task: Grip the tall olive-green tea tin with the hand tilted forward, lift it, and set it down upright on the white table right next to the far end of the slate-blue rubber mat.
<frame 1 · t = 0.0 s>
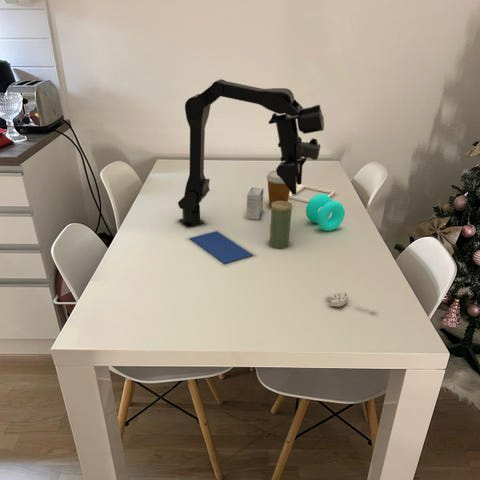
hand: (297, 189, 149), 15 cm above the table, tool pointing down, fingers open, 9 cm apart
game controller: (349, 307, 124), on the table
tea tin: (278, 244, 153), on the table
donuts: (323, 226, 165), on the table
medicine box: (254, 215, 172), on the table
photo frame: (305, 195, 190), on the table
disposable coffee cup: (277, 207, 179), on the table
blue mat: (220, 247, 150), on the table
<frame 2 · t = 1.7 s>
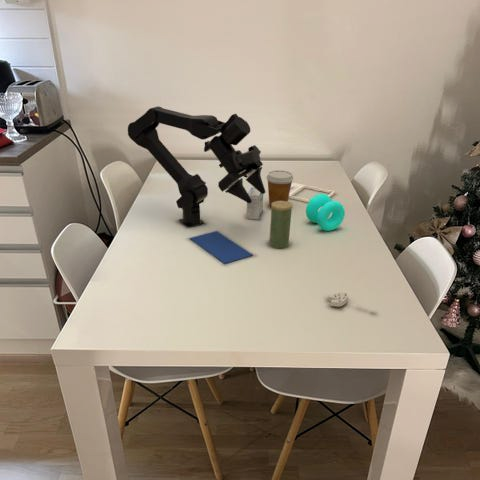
hand: (257, 197, 148), 13 cm above the table, tool tilted 45°, fingers open, 9 cm apart
nothing on the table moved.
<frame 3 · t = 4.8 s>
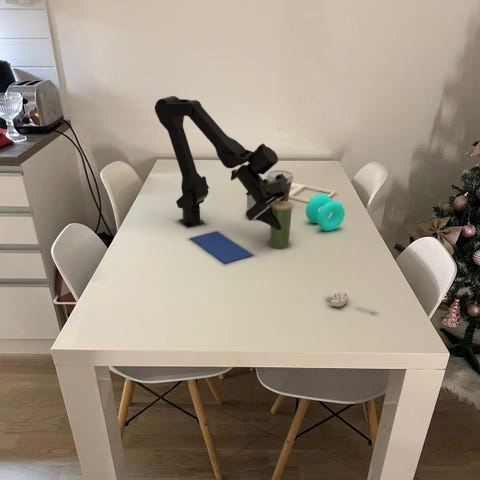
hand: (284, 225, 148), 7 cm above the table, tool tilted 45°, fingers closed on tea tin, 6 cm apart
tea tin: (278, 244, 153), on the table, touching gripper
everything else where it was.
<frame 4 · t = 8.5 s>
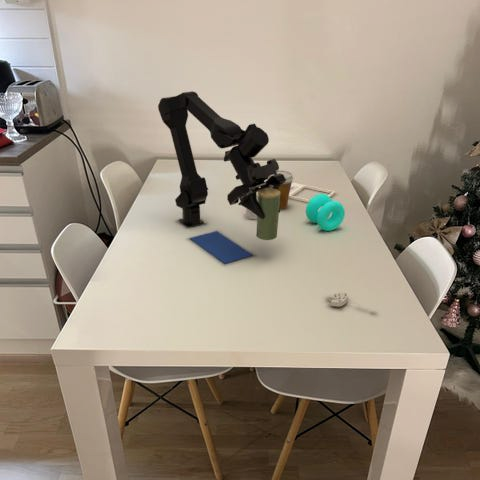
hand: (271, 215, 137), 13 cm above the table, tool tilted 45°, fingers closed on tea tin, 6 cm apart
tea tin: (266, 235, 141), point 7 cm above the table, touching gripper
everything else where it was.
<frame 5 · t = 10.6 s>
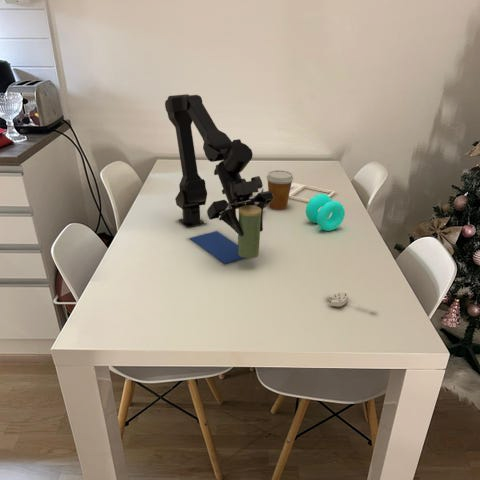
hand: (251, 233, 133), 11 cm above the table, tool tilted 45°, fingers closed on tea tin, 6 cm apart
tea tin: (248, 253, 138), point 4 cm above the table, touching gripper
everything else where it was.
when the fingers open (7 cm above the table, at t = 12.3 s): tea tin stays where it is, on the table.
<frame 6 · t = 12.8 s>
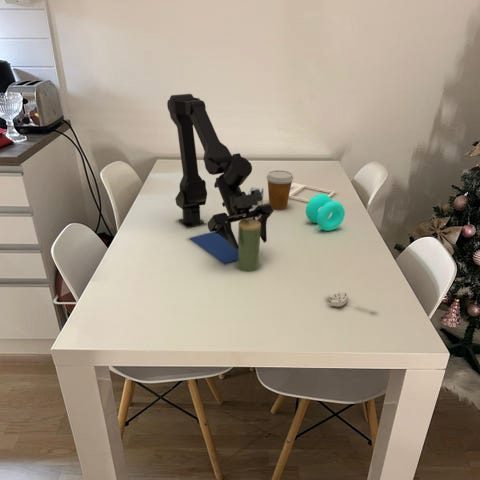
hand: (251, 245, 135), 7 cm above the table, tool tilted 45°, fingers open, 9 cm apart
tea tin: (248, 266, 140), on the table
everything else where it was.
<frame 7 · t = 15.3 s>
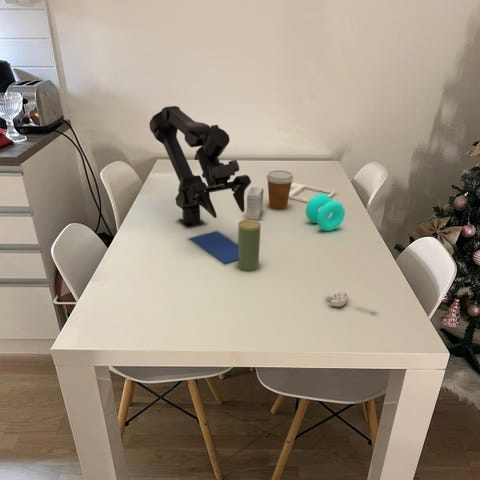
hand: (229, 214, 141), 12 cm above the table, tool tilted 45°, fingers open, 9 cm apart
nothing on the table moved.
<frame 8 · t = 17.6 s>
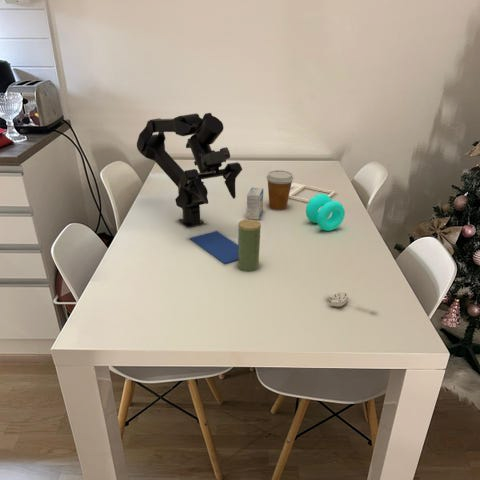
hand: (221, 200, 145), 14 cm above the table, tool tilted 45°, fingers open, 9 cm apart
nothing on the table moved.
at the end: tea tin inside the target area on the table beside the blue mat (0.9 cm from its centre), on the table; tea tin tilted 0°; the gripper is holding nothing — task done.
